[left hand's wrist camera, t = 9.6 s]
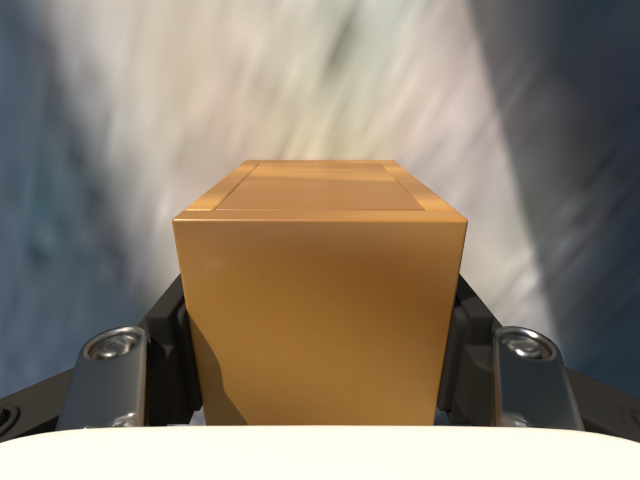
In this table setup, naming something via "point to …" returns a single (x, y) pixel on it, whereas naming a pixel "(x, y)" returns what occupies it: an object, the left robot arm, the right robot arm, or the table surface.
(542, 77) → the table surface
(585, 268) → the table surface
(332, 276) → the cabinet
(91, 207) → the table surface
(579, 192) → the table surface
